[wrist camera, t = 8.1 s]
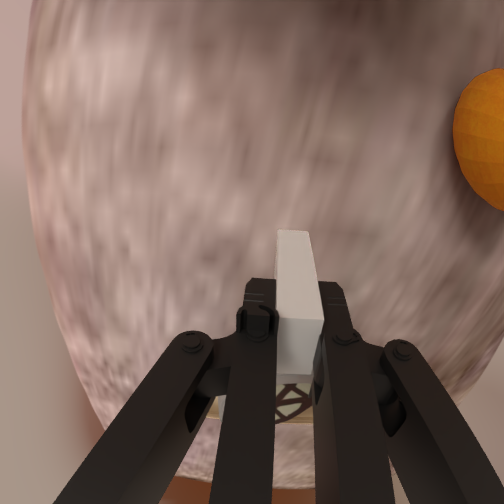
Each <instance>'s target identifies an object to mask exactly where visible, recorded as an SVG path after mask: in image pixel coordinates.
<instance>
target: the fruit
mask: <svg viewBox="0 0 504 504" xmlns="http://www.w3.org/2000/svg"><path fill="white" fill-rule="evenodd" d="M452 130H453V140H454V150H455V153H456V156H457V159H458V162H459V165H460V168H461V171H462V173H463V175H464V176H465V178H466V179H467V181H468V182H469V184H470V185H471V187H472V188H473V190H474V191H475V193H477V194H478V195H479V196H481V197H482V198H483V199H484V200H486V201H487V202H488V203H489V204H490V205H492V206H493V207H494V208H497V209H499V210H502V211H504V69H500V68H497V69H492V70H490V71H487V72H485V73H483V74H480V75H478V76H476V77H475V78H474V79H473V80H472V81H471V82H470V83H469V84H468V86H467V87H466V88H465V89H464V90H463V92H462V94H461V96H460V99H459V101H458V103H457V106H456V108H455V113H454V121H453V129H452Z"/></svg>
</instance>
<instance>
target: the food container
mask: <svg viewBox="0 0 504 504" xmlns="http://www.w3.org/2000/svg"><path fill="white" fill-rule="evenodd" d="M313 377H314V373H313V368H312V372H311V375H307V374H282V373H277V375H276V410H275V424H279V423H282V422H285V421H288V420H290V419H292V418H294V417H296V416H297V415H299V414H301V413H302V412H304V411H305V410H307V409H308V408H310V407H311V406H312V396H311V398H308V395H309V391H310V387H311V384H312V380H313ZM225 400H226V395H222V396H218V408H219V417H220V420H221V422H222V418H223V412H224V406H225Z"/></svg>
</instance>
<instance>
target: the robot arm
mask: <svg viewBox="0 0 504 504" xmlns="http://www.w3.org/2000/svg"><path fill="white" fill-rule="evenodd" d="M312 368H313V373H314V377H313V380H312V384H311V387H310V391H309V395H308V398H311V396H312V407H313V427H314V452H315V491H316V504H395V497H394V490H393V484H392V477H391V470H390V464H389V458H390V460H391V462H392V464H393V467H394V469H395V471H396V473H397V475H398V478H399V480H400V482H401V484H402V487H403V489H404V491H405V493H406V496H407V498H408V500H409V503H410V504H504V487H503V485H502V483H501V481H500V479H499V477H498V476H497V474H496V472H495V470H494V468H493V467H492V465H491V463H490V461H489V459H488V458H487V456H486V454H485V452H484V451H483V449H482V448H481V446H480V444H479V442H478V441H477V439H476V437H475V436H474V434H473V432H472V431H471V429H470V427H469V426H468V424H467V422H466V421H465V419H464V418H463V416H462V415H461V413H460V411H459V410H458V408H457V407H456V405H455V403H454V402H453V400H452V399H451V397H450V396H449V394H448V393H447V391H446V390H445V388H444V387H443V385H442V384H441V382H440V381H439V379H438V378H437V376H436V375H435V373H434V372H433V370H432V369H431V367H430V366H429V365H428V363H427V362H426V360H425V359H424V357H423V356H422V355H421V353H420V352H419V350H418V349H417V348H416V347H415V346H414V345H413V344H411V343H410V342H408V341H405V340H401V339H397V340H392V341H389V342H388V343H387V344H386V345H385V347H380V346H376V345H372V344H369V343H366V342H365V341H363V340H362V337H361V335H360V334H359V333H358V332H357V331H356V330H355V329H353V326H352V322H351V318H350V314H349V311H348V307H347V303H346V299H345V296H344V292H343V289H342V288H341V287H340V286H339V285H338V284H337V283H336V282H324V281H318V280H317V275H316V269H315V264H314V258H313V253H312V248H311V243H310V238H309V233H308V231H297V230H282V229H278V232H277V245H276V258H275V270H274V279H262V278H252V279H251V280H250V281H249V282H248V283H247V284H246V288H245V295H244V301H243V306H242V307H241V308H239V310H238V312H237V314H236V332H234V333H233V334H232V335H230V336H227V337H224V338H220V339H213V340H212V339H211V338H210V337H209V336H208V335H207V334H205V333H203V332H200V331H186V332H183V333H181V334H179V335H177V336H176V337H175V338H174V339H173V340H172V342H171V343H170V344H169V346H168V347H167V348H166V350H165V351H164V353H163V354H162V355H161V357H160V358H159V359H158V361H157V362H156V363H155V365H154V366H153V367H152V369H151V370H150V371H149V373H148V374H147V375H146V377H145V378H144V379H143V381H142V382H141V383H140V385H139V386H138V387H137V389H136V390H135V392H134V393H133V394H132V396H131V397H130V398H129V400H128V401H127V402H126V404H125V405H124V406H123V408H122V409H121V410H120V412H119V413H118V415H117V416H116V417H115V419H114V420H113V421H112V423H111V424H110V425H109V427H108V428H107V430H106V431H105V432H104V434H103V435H102V436H101V438H100V439H99V441H98V442H97V443H96V445H95V446H94V447H93V449H92V450H91V452H90V453H89V454H88V456H87V457H86V458H85V460H84V461H83V462H82V464H81V466H80V467H79V468H78V469H77V471H76V472H75V474H74V475H73V476H72V478H71V479H70V481H69V482H68V483H67V485H66V486H65V488H64V489H63V490H62V492H61V493H60V495H59V496H58V497H57V499H56V500H55V501H54V503H53V504H158V503H159V501H160V500H161V498H162V496H163V494H164V493H165V491H166V489H167V487H168V485H169V484H170V482H171V480H172V478H173V477H174V475H175V473H176V471H177V469H178V468H179V466H180V464H181V462H182V460H183V458H184V457H185V455H186V453H187V451H188V449H189V447H190V446H191V444H192V442H193V440H194V438H195V436H196V434H197V433H198V431H199V429H200V427H201V425H202V423H203V421H204V419H205V418H206V416H207V414H208V412H209V410H210V408H211V406H212V404H213V402H214V400H215V398H216V396H222V395H226V400H225V406H224V412H223V418H222V424H221V431H220V437H219V443H218V449H217V455H216V461H215V468H214V474H213V480H212V486H211V493H210V499H209V504H271V501H272V483H273V462H274V438H275V410H276V375H277V373H282V374H307V375H311V372H312ZM388 456H389V458H388Z"/></svg>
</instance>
